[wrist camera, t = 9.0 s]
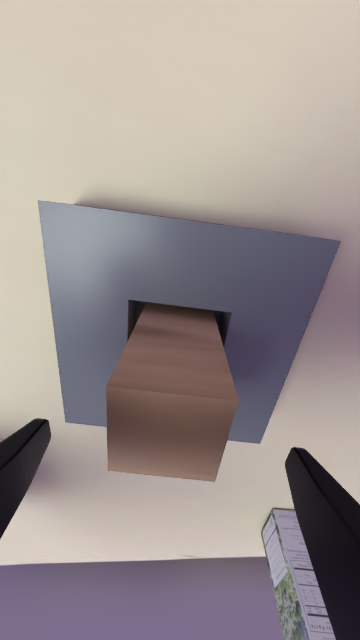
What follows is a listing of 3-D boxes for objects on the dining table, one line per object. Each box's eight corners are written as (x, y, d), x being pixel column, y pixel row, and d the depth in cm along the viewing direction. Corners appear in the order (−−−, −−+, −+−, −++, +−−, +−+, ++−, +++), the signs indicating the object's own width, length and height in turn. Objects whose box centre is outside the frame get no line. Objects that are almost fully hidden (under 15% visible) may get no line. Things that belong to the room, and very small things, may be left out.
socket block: (248, 408, 21) (259, 443, 17) (85, 389, 20) (65, 422, 17) (305, 235, 14) (340, 241, 11) (72, 204, 14) (37, 200, 11)
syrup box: (302, 534, 30) (395, 790, 16) (258, 531, 29) (316, 784, 16) (317, 511, 27) (441, 786, 14) (269, 506, 27) (348, 780, 14)
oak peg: (201, 359, 18) (214, 481, 9) (144, 352, 18) (108, 470, 9) (211, 306, 16) (238, 401, 8) (148, 298, 16) (106, 386, 7)
